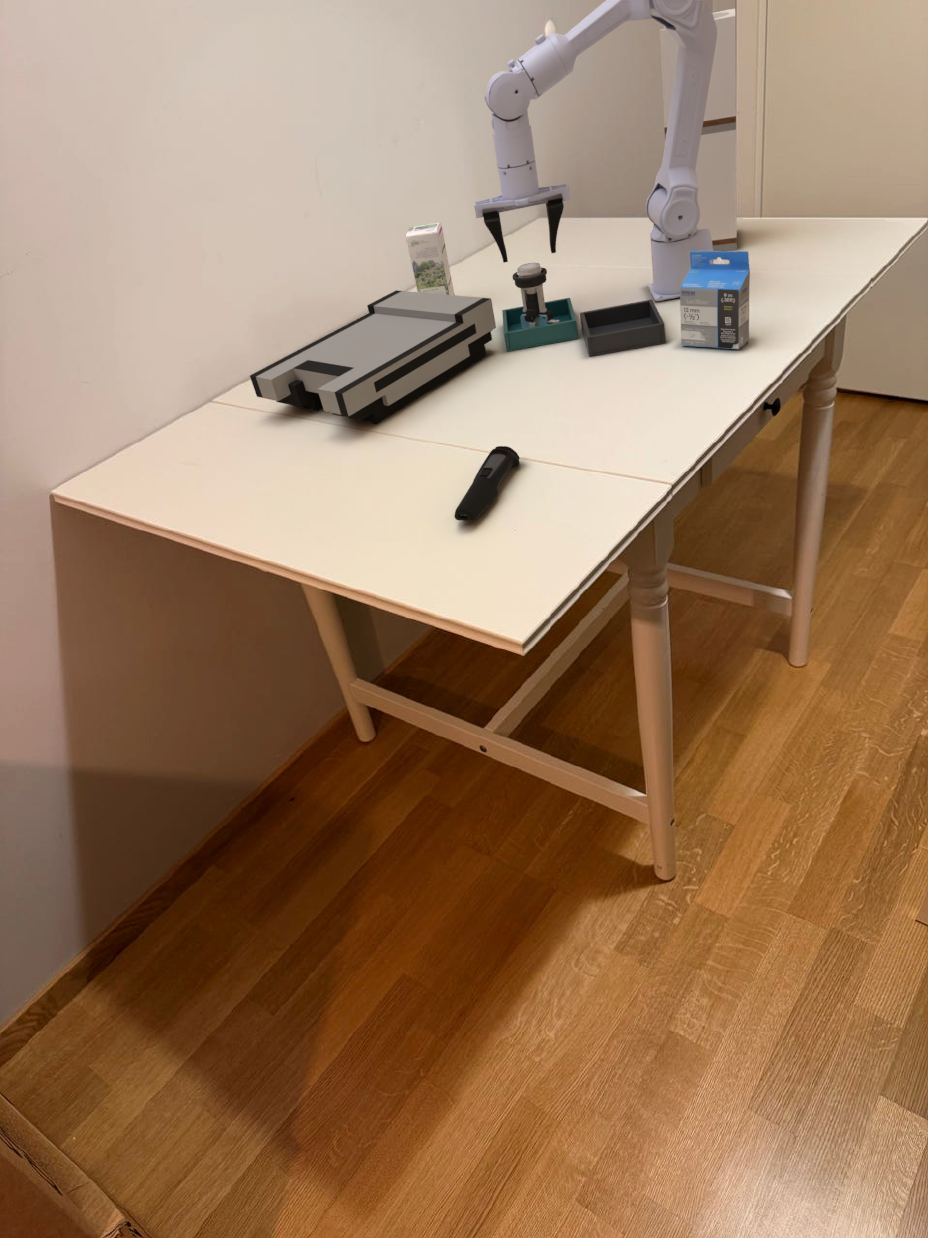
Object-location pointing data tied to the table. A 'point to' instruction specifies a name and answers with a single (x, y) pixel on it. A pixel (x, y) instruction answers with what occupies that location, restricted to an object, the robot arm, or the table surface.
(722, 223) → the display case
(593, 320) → the right tote
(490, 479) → the electric trimmer
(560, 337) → the box
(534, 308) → the push button
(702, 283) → the label tape box
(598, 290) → the table surface
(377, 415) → the game console
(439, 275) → the syrup box
